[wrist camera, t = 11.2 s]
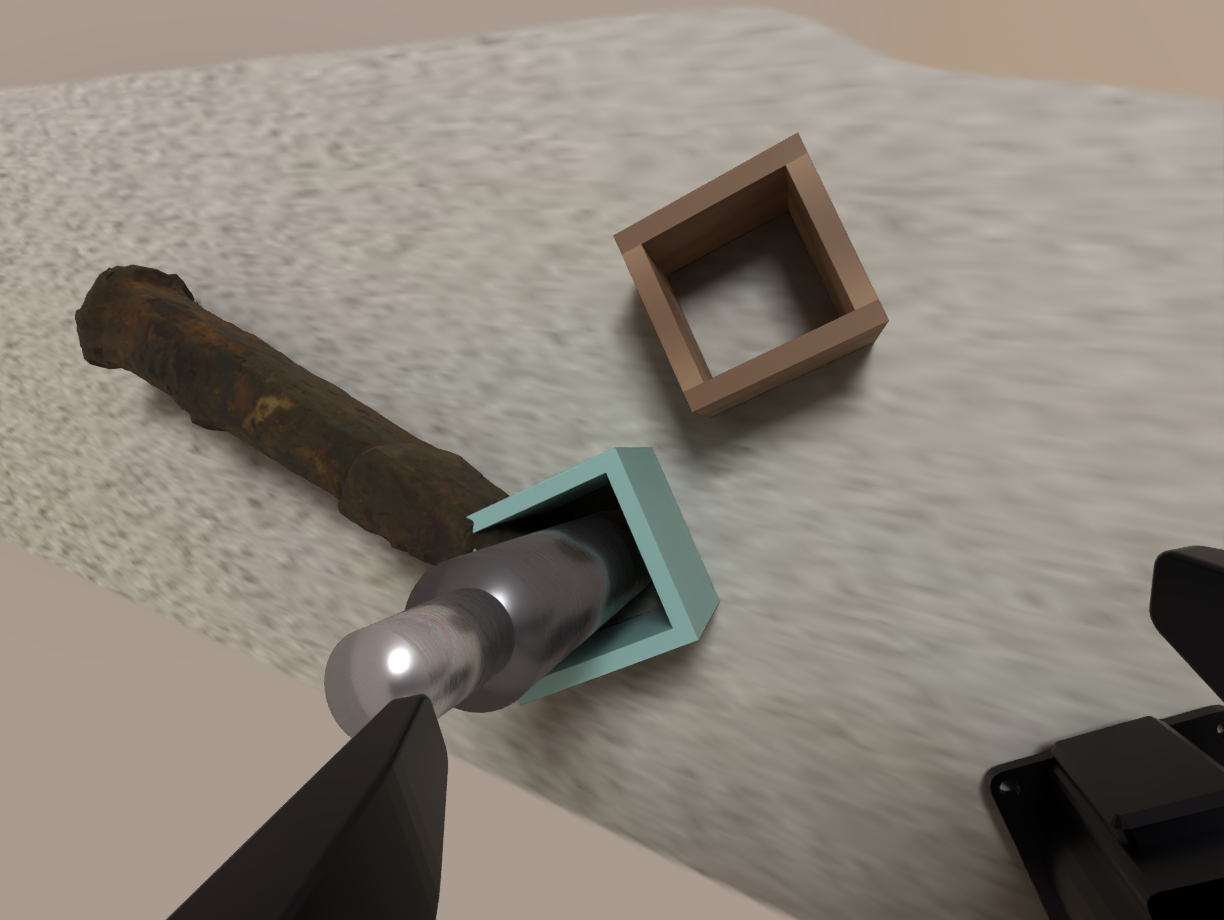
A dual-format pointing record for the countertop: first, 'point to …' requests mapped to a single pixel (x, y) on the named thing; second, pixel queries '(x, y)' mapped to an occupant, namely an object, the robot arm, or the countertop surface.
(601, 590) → the stepped grey cylinder
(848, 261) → the socket block
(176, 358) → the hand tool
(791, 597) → the countertop surface
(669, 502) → the hollow teal block
